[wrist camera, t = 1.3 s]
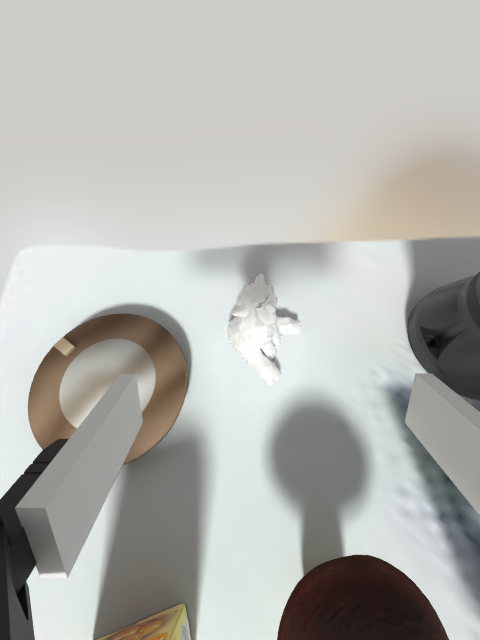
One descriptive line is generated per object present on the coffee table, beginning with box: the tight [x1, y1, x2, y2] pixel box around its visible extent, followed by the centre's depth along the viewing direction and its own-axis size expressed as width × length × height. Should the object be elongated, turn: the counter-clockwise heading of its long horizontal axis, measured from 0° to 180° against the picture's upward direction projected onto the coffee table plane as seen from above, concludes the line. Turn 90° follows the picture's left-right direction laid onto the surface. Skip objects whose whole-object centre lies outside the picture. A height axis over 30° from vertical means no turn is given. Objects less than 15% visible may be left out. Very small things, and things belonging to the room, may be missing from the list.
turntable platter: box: [28, 314, 187, 465], centre depth 33 cm, size 18×18×2 cm
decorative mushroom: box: [277, 555, 449, 640], centre depth 20 cm, size 11×11×15 cm
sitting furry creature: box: [227, 273, 300, 387], centre depth 32 cm, size 10×9×12 cm
